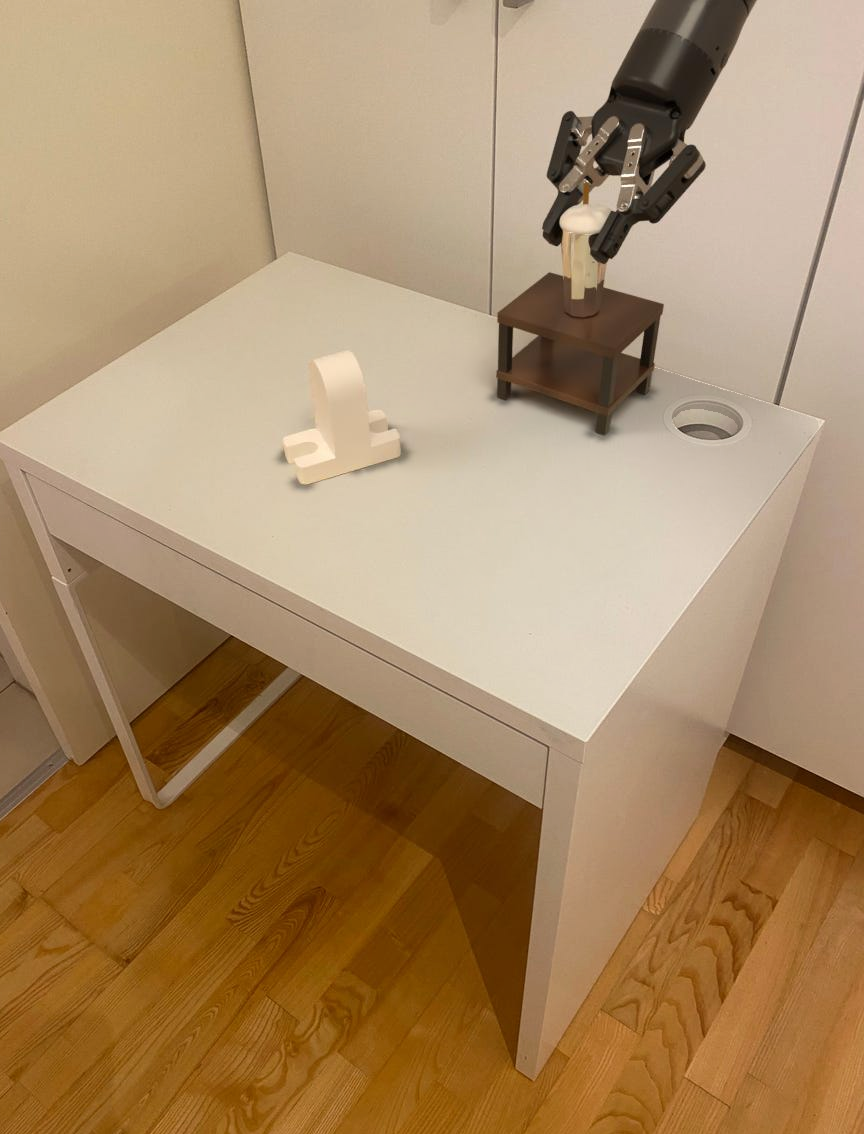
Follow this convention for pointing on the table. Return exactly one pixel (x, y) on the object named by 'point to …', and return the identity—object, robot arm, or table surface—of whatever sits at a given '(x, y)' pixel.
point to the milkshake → (582, 257)
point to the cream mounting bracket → (340, 424)
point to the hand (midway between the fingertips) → (573, 249)
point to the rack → (578, 348)
